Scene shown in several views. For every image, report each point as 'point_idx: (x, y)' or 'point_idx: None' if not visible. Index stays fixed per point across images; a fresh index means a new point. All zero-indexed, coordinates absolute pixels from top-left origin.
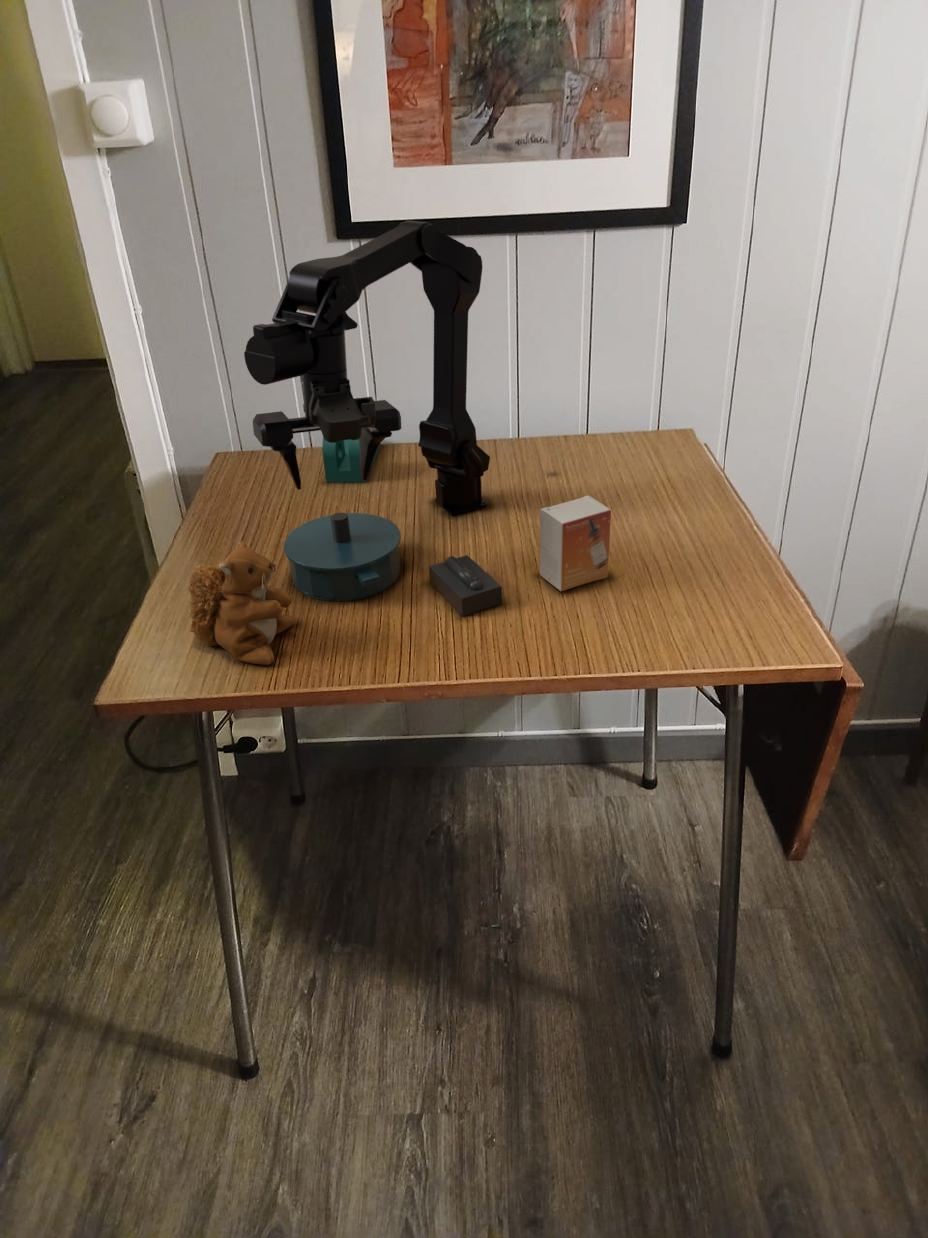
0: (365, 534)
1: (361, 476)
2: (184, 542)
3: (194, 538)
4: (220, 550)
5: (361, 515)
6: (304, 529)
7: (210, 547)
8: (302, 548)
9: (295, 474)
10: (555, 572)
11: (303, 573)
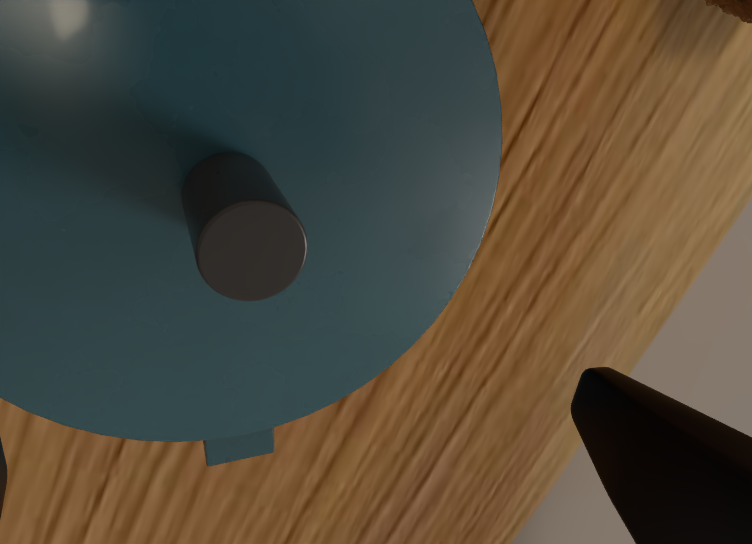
0: (87, 188)
1: (4, 484)
2: (542, 492)
3: (517, 504)
4: (495, 435)
5: (53, 397)
6: (353, 354)
7: (507, 456)
8: (426, 195)
9: (732, 440)
10: None
11: None
